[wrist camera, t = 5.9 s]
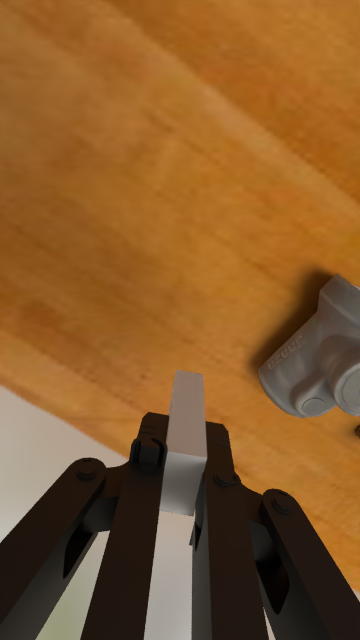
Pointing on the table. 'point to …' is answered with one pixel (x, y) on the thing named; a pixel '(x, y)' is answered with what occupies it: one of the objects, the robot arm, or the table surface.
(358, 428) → the grey metal frame
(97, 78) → the table surface
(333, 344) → the pipe fitting
